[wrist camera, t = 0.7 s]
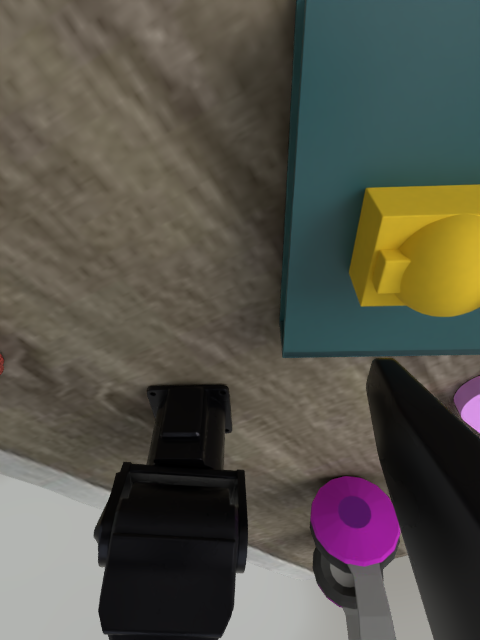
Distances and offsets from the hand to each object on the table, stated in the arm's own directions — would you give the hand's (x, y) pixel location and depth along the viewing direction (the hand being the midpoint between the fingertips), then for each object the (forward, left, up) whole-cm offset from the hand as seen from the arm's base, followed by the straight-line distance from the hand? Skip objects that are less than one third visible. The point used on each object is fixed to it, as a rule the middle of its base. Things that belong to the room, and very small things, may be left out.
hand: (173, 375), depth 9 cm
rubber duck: (-2, -10, -10) cm, 14 cm away
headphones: (-42, -13, -13) cm, 46 cm away
